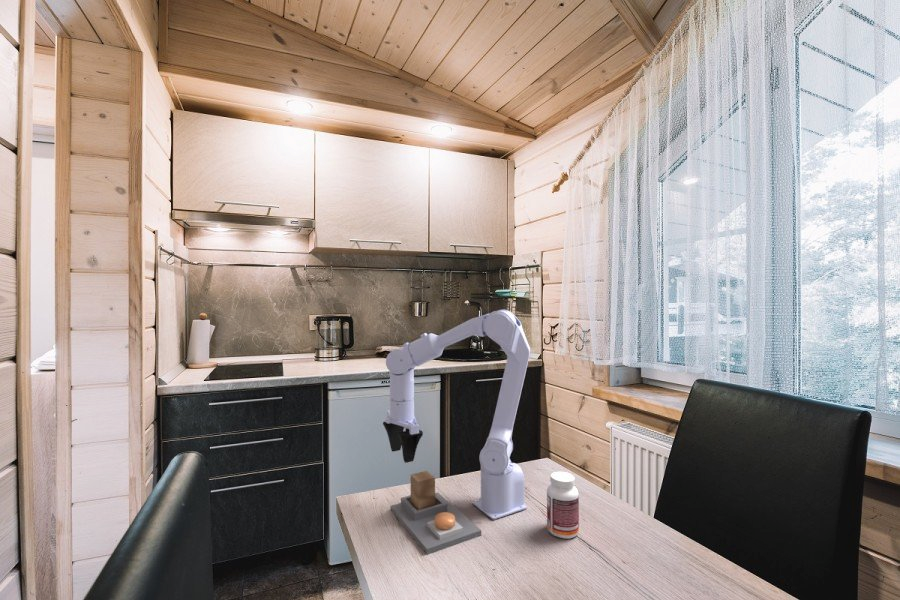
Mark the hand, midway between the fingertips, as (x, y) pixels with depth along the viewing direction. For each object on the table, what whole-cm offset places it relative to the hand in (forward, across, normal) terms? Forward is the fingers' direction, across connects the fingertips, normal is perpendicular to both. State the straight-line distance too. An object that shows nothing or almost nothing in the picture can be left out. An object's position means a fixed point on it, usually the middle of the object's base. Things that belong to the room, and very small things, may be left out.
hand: (402, 455), depth 98 cm
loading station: (+9, +14, +1) cm, 17 cm away
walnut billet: (+8, +9, +1) cm, 13 cm away
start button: (+7, +19, +1) cm, 20 cm away
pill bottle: (+10, +30, +22) cm, 38 cm away
